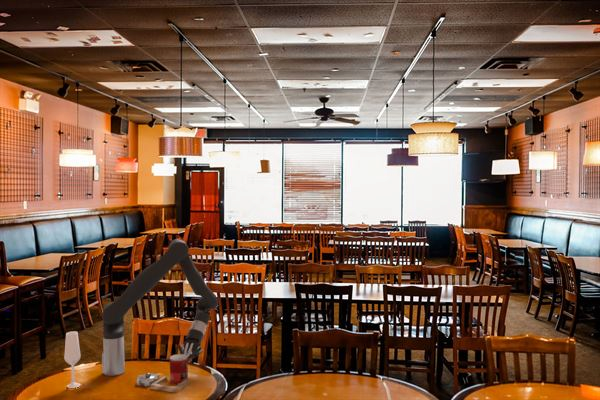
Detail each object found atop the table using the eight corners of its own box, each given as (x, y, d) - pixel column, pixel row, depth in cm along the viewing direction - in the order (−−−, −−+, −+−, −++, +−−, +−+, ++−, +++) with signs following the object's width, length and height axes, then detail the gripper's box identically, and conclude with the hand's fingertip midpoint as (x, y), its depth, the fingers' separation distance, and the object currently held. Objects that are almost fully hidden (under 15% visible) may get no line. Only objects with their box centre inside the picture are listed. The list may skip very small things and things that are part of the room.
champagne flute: (84, 384, 241) (83, 331, 240) (74, 390, 235) (72, 335, 234) (72, 382, 243) (71, 330, 242) (61, 388, 237) (60, 334, 236)
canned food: (184, 384, 240) (183, 360, 239) (167, 383, 241) (166, 359, 241) (190, 378, 247) (190, 354, 247) (174, 377, 249) (173, 353, 248)
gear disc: (132, 384, 240) (132, 376, 240) (145, 377, 249) (145, 368, 249) (151, 387, 236) (150, 378, 236) (163, 379, 245) (163, 371, 245)
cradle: (150, 388, 235) (150, 384, 235) (164, 380, 245) (164, 376, 245) (176, 392, 231) (176, 388, 231) (189, 383, 240) (189, 379, 240)
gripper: (181, 327, 259) (168, 360, 248) (205, 329, 254) (193, 363, 243) (187, 335, 264) (174, 368, 253) (211, 337, 259) (199, 371, 249)
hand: (183, 365), depth 248 cm, fingers closed
